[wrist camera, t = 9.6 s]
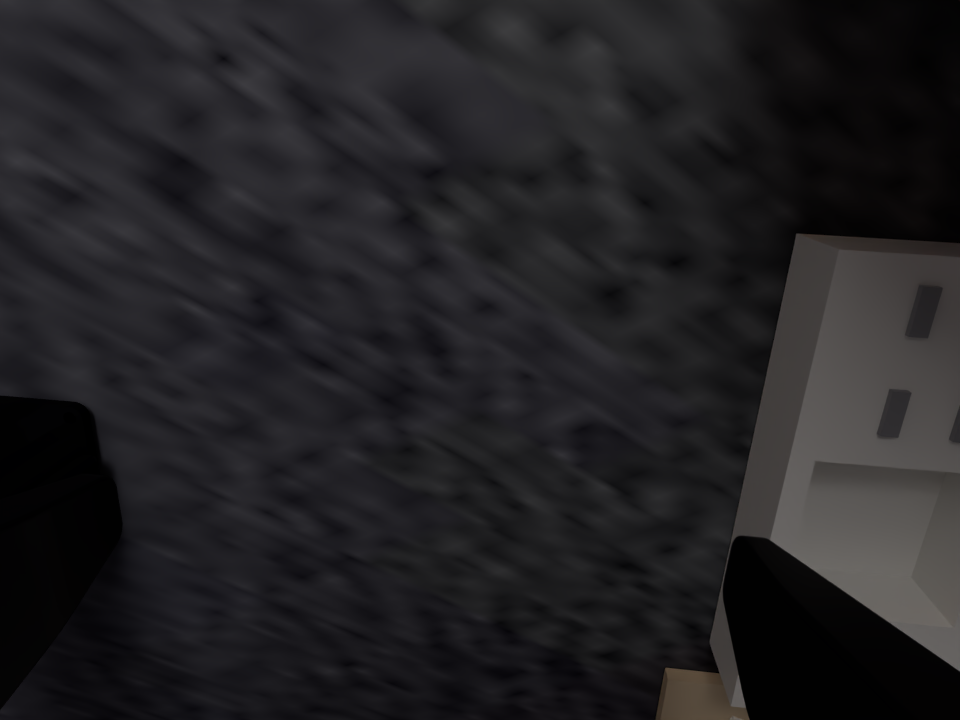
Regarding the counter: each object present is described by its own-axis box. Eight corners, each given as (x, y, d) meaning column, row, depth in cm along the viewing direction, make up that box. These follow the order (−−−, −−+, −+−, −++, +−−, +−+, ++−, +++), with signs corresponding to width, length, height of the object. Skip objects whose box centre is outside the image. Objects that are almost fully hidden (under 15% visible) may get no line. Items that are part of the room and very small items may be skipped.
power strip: (709, 642, 25) (734, 718, 22) (796, 233, 20) (847, 253, 16) (893, 661, 25) (948, 742, 21) (1034, 247, 19) (1136, 270, 16)
